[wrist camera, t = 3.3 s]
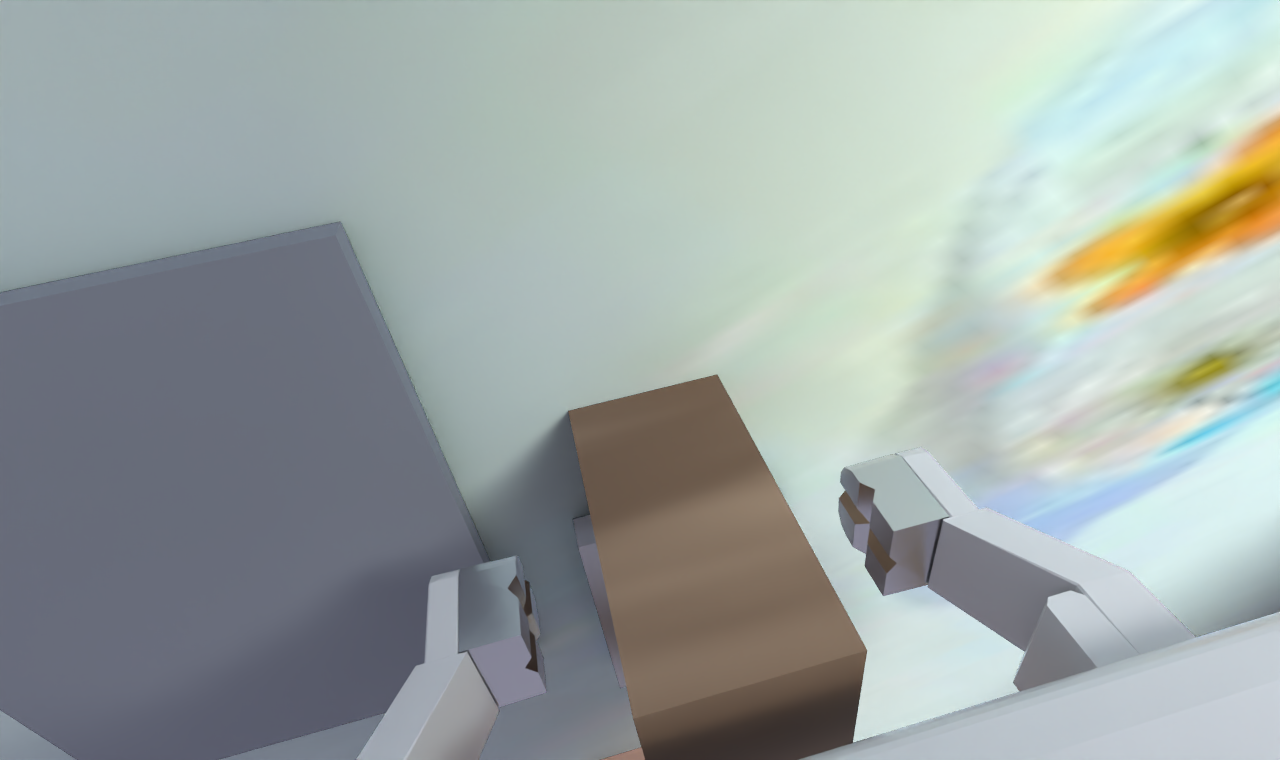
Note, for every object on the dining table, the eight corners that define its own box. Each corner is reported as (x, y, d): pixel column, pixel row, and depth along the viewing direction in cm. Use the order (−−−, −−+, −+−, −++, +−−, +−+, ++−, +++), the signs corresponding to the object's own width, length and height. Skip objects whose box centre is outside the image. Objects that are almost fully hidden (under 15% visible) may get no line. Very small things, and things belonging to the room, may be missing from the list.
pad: (-429, 381, 9) (-471, 403, 8) (340, 221, 10) (335, 235, 9) (128, 765, 16) (119, 787, 15) (530, 653, 17) (532, 671, 16)
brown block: (542, 417, 12) (592, 731, 8) (741, 368, 13) (904, 639, 8) (614, 660, 18) (669, 930, 13) (752, 621, 18) (853, 871, 14)
